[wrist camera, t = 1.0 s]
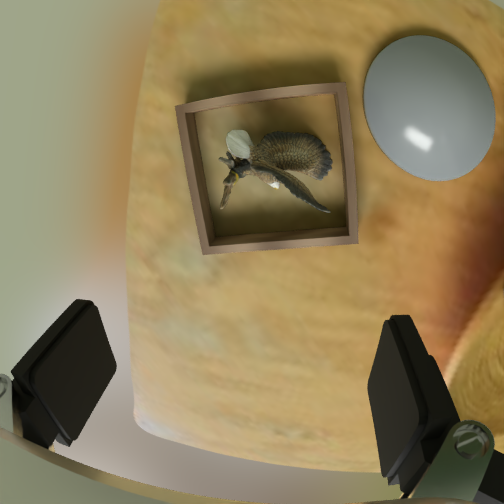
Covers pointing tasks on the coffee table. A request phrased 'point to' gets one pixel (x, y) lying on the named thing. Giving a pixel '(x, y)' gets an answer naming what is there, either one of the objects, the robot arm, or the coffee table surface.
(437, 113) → the grey round plate
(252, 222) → the coffee table surface
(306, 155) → the eagle figurine
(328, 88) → the walnut frame
